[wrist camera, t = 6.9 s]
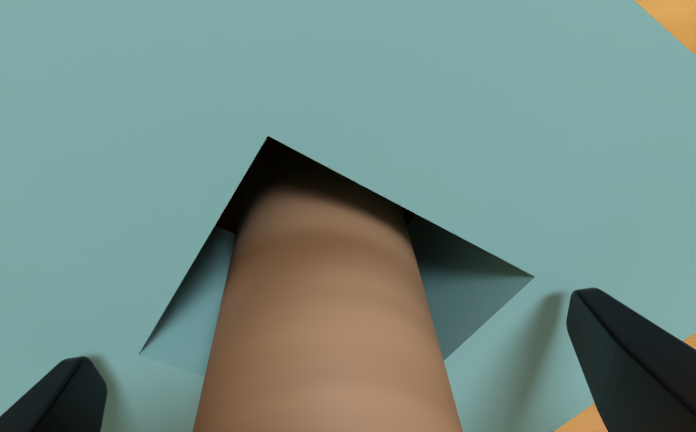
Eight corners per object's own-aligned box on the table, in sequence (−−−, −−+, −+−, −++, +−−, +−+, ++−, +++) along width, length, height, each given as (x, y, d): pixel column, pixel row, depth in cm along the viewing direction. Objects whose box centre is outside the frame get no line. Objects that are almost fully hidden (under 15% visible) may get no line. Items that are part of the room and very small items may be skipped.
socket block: (385, 394, 19) (405, 535, 15) (-2, 256, 14) (-129, 408, 10) (690, 105, 13) (868, 210, 9) (179, -319, 8) (36, -534, 4)
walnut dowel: (344, 261, 15) (380, 711, 7) (225, 207, 14) (93, 689, 6) (421, 164, 13) (594, 615, 5) (293, 91, 12) (249, 547, 4)
